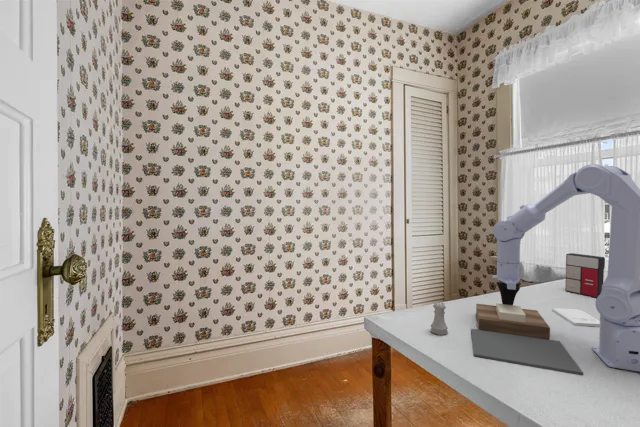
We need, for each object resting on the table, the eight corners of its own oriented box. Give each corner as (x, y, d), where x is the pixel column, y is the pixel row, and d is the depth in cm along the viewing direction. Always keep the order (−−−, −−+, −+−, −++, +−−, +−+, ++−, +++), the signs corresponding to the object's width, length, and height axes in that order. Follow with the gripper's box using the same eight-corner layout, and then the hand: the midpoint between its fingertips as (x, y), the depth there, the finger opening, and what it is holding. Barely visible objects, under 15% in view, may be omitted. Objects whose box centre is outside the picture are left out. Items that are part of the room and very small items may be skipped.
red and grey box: (564, 291, 125) (564, 253, 125) (570, 290, 127) (571, 253, 126) (597, 298, 115) (598, 258, 115) (604, 297, 117) (605, 257, 116)
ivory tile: (525, 322, 83) (525, 315, 83) (499, 319, 85) (499, 312, 85) (519, 312, 90) (520, 306, 90) (496, 310, 93) (496, 303, 93)
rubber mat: (583, 375, 64) (583, 372, 64) (473, 356, 72) (473, 354, 72) (559, 343, 79) (559, 341, 79) (471, 330, 87) (471, 328, 87)
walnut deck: (549, 341, 80) (549, 327, 80) (479, 331, 86) (479, 318, 86) (536, 322, 93) (537, 310, 93) (476, 314, 99) (476, 303, 99)
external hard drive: (580, 314, 101) (607, 329, 88) (551, 313, 102) (574, 327, 90) (580, 309, 101) (608, 324, 88) (552, 308, 102) (574, 322, 90)
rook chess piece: (437, 336, 83) (437, 306, 83) (427, 329, 87) (427, 301, 87) (451, 334, 84) (452, 304, 84) (440, 328, 88) (441, 300, 88)
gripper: (490, 257, 101) (489, 299, 101) (495, 265, 87) (494, 313, 88) (516, 258, 98) (515, 302, 98) (525, 267, 85) (524, 317, 85)
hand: (507, 307), depth 93 cm, fingers closed
